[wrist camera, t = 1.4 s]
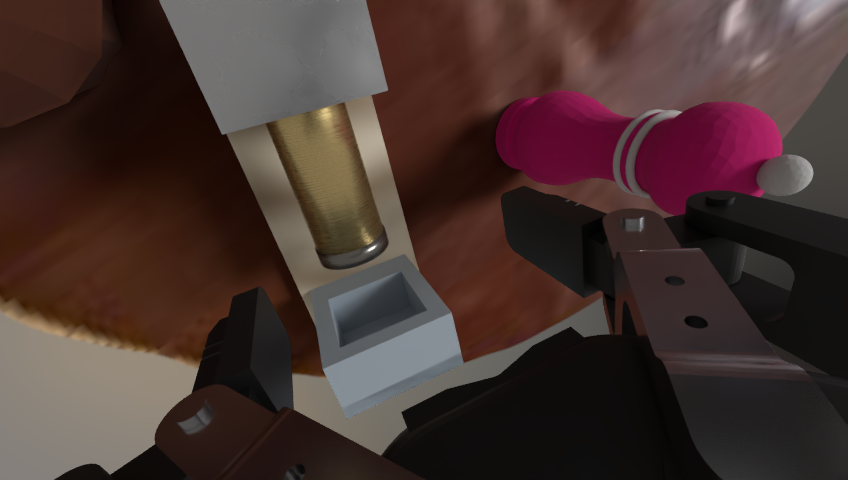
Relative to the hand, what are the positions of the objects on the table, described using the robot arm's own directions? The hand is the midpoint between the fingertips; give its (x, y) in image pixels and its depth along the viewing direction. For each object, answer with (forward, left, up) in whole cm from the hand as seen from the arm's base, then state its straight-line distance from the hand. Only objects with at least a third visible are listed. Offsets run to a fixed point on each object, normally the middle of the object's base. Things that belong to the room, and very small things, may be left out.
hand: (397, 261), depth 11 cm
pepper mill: (+3, +17, -18) cm, 25 cm away
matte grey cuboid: (-7, -1, -18) cm, 19 cm away
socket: (+11, -1, -18) cm, 21 cm away
